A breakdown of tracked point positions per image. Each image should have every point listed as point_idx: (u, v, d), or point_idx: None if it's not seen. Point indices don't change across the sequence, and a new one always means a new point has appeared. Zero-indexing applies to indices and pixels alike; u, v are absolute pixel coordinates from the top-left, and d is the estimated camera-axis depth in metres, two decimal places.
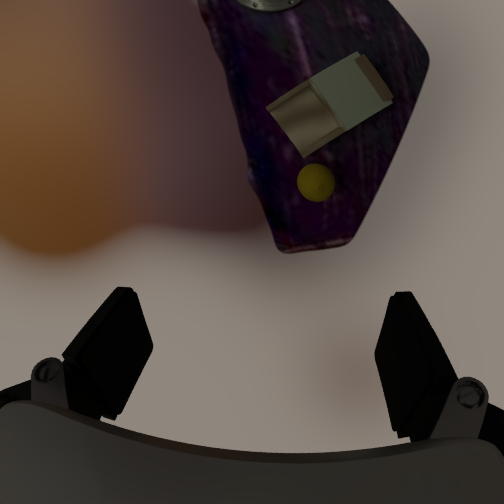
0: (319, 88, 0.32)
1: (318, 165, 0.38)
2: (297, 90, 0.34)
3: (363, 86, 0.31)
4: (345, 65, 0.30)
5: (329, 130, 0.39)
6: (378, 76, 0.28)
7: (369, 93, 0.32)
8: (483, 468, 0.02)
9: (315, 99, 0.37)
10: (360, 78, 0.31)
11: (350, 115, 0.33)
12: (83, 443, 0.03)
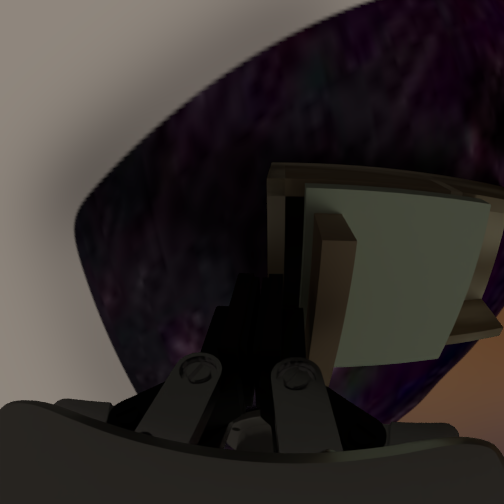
0: (447, 333, 0.12)
1: None
2: (449, 338, 0.13)
3: (362, 289, 0.11)
4: (354, 353, 0.12)
5: None
6: (319, 334, 0.09)
7: (364, 262, 0.10)
8: (483, 468, 0.02)
9: None
10: (350, 312, 0.11)
11: (459, 236, 0.09)
12: (83, 443, 0.03)
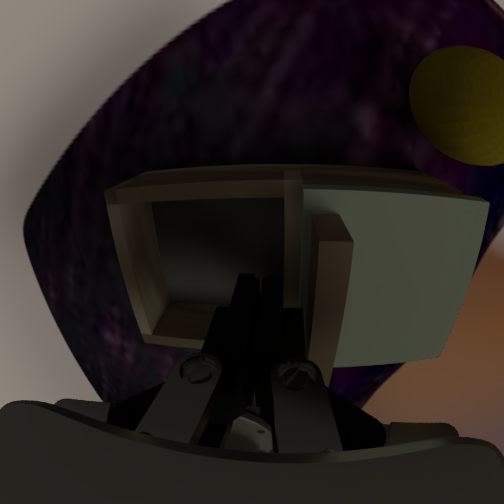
0: (448, 332, 0.12)
1: (450, 144, 0.08)
2: None
3: (361, 289, 0.11)
4: (354, 353, 0.12)
5: None
6: (318, 334, 0.09)
7: (362, 262, 0.10)
8: (483, 468, 0.02)
9: None
10: (349, 312, 0.11)
11: (458, 234, 0.09)
12: (83, 443, 0.03)
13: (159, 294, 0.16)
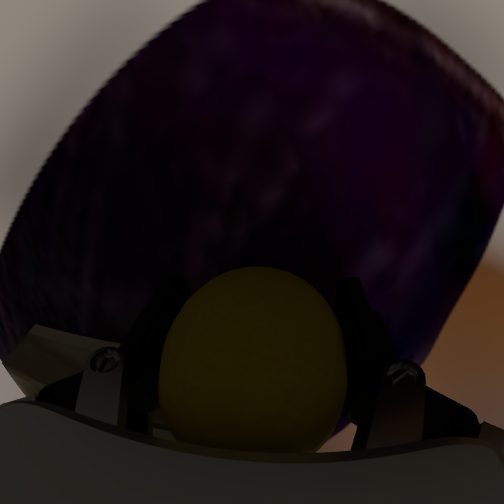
0: None
1: None
2: None
3: None
4: None
5: None
6: None
7: None
8: (483, 468, 0.02)
9: None
10: None
11: None
12: (83, 443, 0.03)
13: None
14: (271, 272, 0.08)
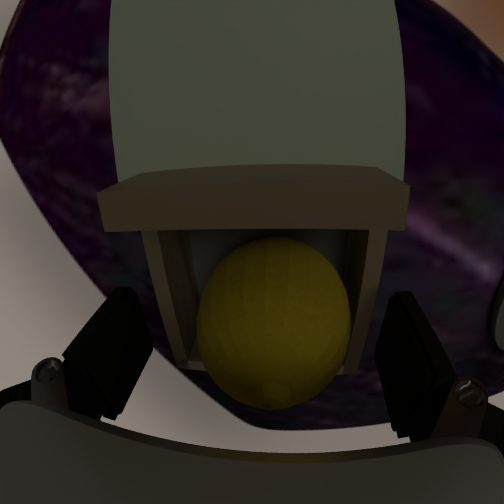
0: None
1: None
2: None
3: (238, 121, 0.07)
4: (375, 112, 0.07)
5: None
6: (238, 217, 0.06)
7: (195, 130, 0.07)
8: (483, 468, 0.02)
9: None
10: (282, 131, 0.07)
11: (151, 9, 0.06)
12: (83, 443, 0.03)
13: None
14: (288, 238, 0.10)
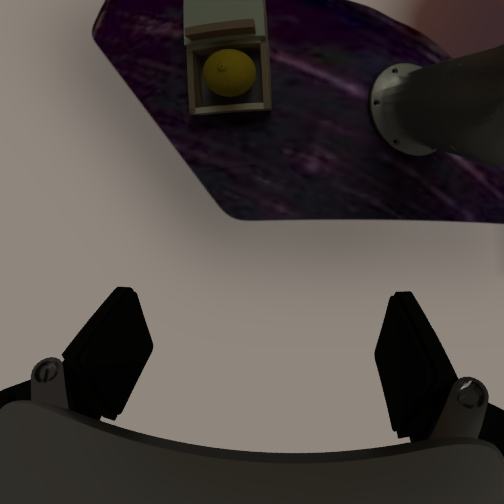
0: None
1: (213, 90, 0.26)
2: None
3: (219, 20, 0.22)
4: (254, 14, 0.22)
5: None
6: (217, 28, 0.21)
7: (208, 23, 0.23)
8: (483, 468, 0.02)
9: None
10: (230, 21, 0.22)
11: None
12: (83, 443, 0.03)
13: None
14: None
